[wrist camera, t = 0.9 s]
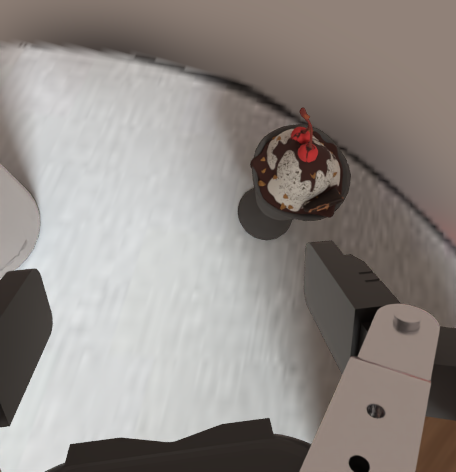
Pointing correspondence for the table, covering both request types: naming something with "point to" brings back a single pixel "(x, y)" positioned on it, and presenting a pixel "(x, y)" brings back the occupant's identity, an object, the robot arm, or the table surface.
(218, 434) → the robot arm
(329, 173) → the sundae
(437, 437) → the stand
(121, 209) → the table surface
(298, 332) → the table surface
